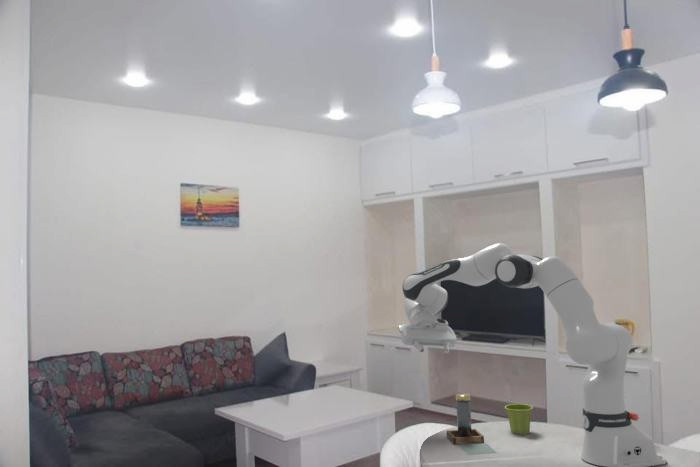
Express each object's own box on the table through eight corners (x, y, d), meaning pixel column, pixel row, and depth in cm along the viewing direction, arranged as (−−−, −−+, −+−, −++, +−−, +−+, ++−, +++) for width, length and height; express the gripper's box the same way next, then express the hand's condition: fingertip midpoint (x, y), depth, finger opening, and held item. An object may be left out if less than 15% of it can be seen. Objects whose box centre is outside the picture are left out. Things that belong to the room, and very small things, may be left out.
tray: (476, 436, 196) (475, 428, 196) (484, 444, 187) (483, 436, 187) (447, 438, 195) (446, 430, 195) (453, 446, 186) (453, 438, 186)
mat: (487, 445, 185) (487, 444, 185) (496, 454, 176) (496, 452, 176) (460, 447, 184) (460, 445, 184) (468, 456, 175) (468, 454, 176)
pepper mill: (470, 436, 194) (467, 393, 195) (474, 440, 189) (471, 396, 190) (456, 437, 193) (453, 393, 194) (460, 441, 189) (457, 396, 190)
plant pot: (500, 432, 200) (499, 407, 200) (517, 427, 205) (515, 402, 206) (523, 438, 192) (521, 411, 193) (539, 432, 198) (538, 406, 199)
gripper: (399, 317, 209) (408, 342, 197) (451, 321, 214) (463, 345, 202) (395, 331, 212) (404, 356, 200) (446, 334, 217) (458, 359, 205)
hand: (434, 351), depth 201 cm, fingers open, 8 cm apart
